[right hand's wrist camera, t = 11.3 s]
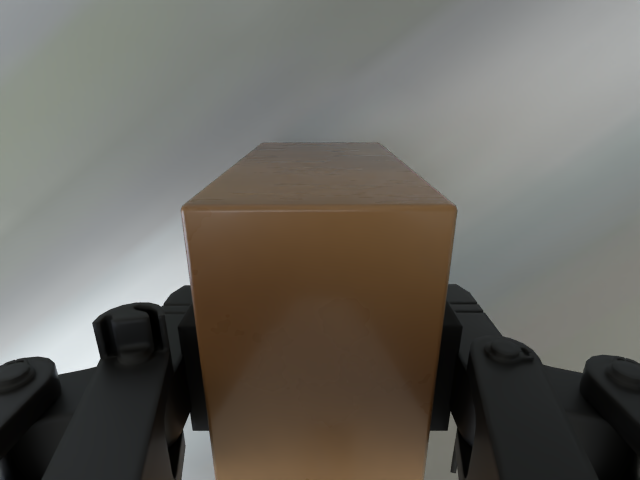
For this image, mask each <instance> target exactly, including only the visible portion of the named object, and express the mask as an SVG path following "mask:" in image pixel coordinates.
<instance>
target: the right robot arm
mask: <svg viewBox="0 0 640 480" xmlns="http://www.w3.org/2000/svg"><path fill="white" fill-rule="evenodd" d="M92 324H93V328H94V332H95V337H96V341H97V345H98V349H99V354H100V358H101V359H100V361H99V363H98V365H97V367H93V368H90V369H85V370H80V371H75V372H70V373H65V374H60V375H58V373H57V370H56V366H55V363H54V362H53V361H51V360H50V359H49V358H44V357H29V358H21V359H17V360H13V361H10V362H7V363H5V364H3V365H1V366H0V480H181V478H182V470H183V462H184V454H185V439H184V433H183V428H184V425H185V423H186V421H187V418H188V416H189V413H190V415H191V422H192V429H193V431H209V425H208V417H207V409H206V402H205V394H204V386H203V378H202V371H201V363H200V355H199V347H198V340H197V332H196V324H195V316H194V309H193V301H192V293H191V285H184V286H183V287H181V288H180V289H178V290H177V291H175V292H173V293H172V294H171V295H170V296H169V297H168V299H167V300H166V301H165V303H164V306H162V307H161V306H159V305H157V304H153V303H132V304H126V305H122V306H119V307H116V308H113V309H110V310H108V311H107V312H105V313H103V314H101V315H100V316H98V318H97V319H96V320H95V321H94V322H93V323H92ZM450 411H451V413H452V415H453V418H454V420H455V423H456V425H457V433H456V439H455V446H454V452H453V458H452V465H451V472H452V473H456V469H458V477H459V480H640V363H637V362H636V361H634V360H631V359H628V358H626V359H625V358H624V357H619V356H610V355H599V356H593V357H591V358H590V359H588V360H587V361H586V364H585V368H584V371H583V373H579V372H574V371H569V370H564V369H559V368H554V367H550V366H546V365H543V364H542V362H541V360H540V358H539V357H538V356H537V354H536V353H535V352H534V351H533V350H532V349H531V348H529V347H528V346H526V345H525V344H523V343H521V342H519V341H516V340H514V339H511V338H507V337H503V336H502V335H501V334H500V332H499V331H498V330H497V328H496V327H495V326H494V324H493V323H492V322H491V320H490V319H489V318H488V316H487V315H486V314H485V313H483V310H482V308H481V307H480V306H479V304H477V302H476V300H475V299H474V298H473V297H472V295H471V294H470V293H469V292H468V291H466V290H465V289H463V288H461V287H460V286H458V285H457V284H448V289H447V297H446V305H445V313H444V321H443V329H442V337H441V345H440V353H439V361H438V369H437V377H436V385H435V393H434V401H433V409H432V417H431V425H430V431H448V424H449V417H450Z"/></svg>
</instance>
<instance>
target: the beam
mask: <svg viewBox="0 0 640 480" xmlns="http://www.w3.org/2000/svg"><path fill="white" fill-rule="evenodd" d="M181 216H182V223H183V231H184V239H185V247H186V254H187V262H188V270H189V278H190V285H191V293H192V301H193V309H194V316H195V324H196V332H197V340H198V347H199V355H200V363H201V371H202V378H203V386H204V394H205V402H206V409H207V417H208V425H209V433H210V440H211V448H212V456H213V464H214V471H215V479H216V480H424V473H425V465H426V457H427V449H428V441H429V433H430V425H431V417H432V409H433V401H434V393H435V385H436V377H437V369H438V361H439V353H440V345H441V337H442V329H443V321H444V313H445V305H446V297H447V289H448V281H449V273H450V265H451V257H452V249H453V241H454V233H455V225H456V217H457V208H456V206H455V205H454V204H453V203H452V202H451V201H449V200H448V199H447V198H446V197H444V196H443V195H442V194H441V193H440V192H438V191H437V190H436V189H435V188H434V187H432V186H431V185H430V184H429V183H427V182H426V181H425V180H424V179H423V178H421V177H420V176H419V175H418V174H416V173H415V172H414V171H413V170H412V169H410V168H409V167H408V166H407V165H405V164H404V163H403V162H402V161H401V160H399V159H398V158H397V157H396V156H394V155H393V154H392V153H391V152H390V151H388V150H387V149H386V148H385V147H383V146H382V145H381V144H380V143H261V144H260V145H259V146H257V147H256V148H255V149H254V150H252V151H251V152H250V153H249V154H247V155H246V156H245V157H243V158H242V159H241V160H240V161H238V162H237V163H236V164H235V165H233V166H232V167H231V168H230V169H228V170H227V171H226V172H224V173H223V174H222V175H221V176H219V177H218V178H217V179H216V180H214V181H213V182H212V183H211V184H209V185H208V186H207V187H205V188H204V189H203V190H202V191H200V192H199V193H198V194H197V195H195V196H194V197H193V198H192V199H190V200H189V201H188V202H186V203H185V204H184V205H183V206H182V208H181Z"/></svg>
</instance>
